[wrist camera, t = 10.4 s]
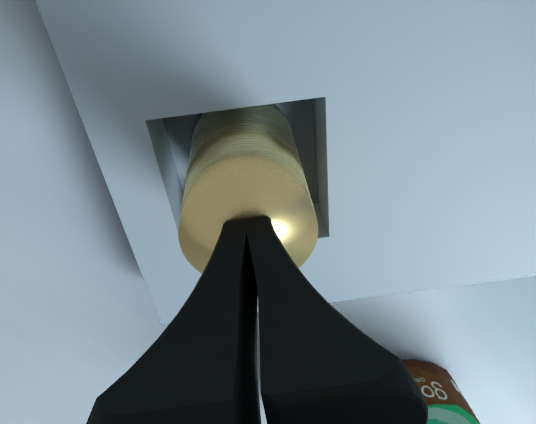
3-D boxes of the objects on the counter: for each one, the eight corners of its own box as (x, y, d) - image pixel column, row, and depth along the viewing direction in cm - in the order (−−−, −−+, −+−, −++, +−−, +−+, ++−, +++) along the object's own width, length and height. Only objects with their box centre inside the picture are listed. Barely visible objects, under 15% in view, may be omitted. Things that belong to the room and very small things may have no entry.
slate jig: (738, -108, 14) (827, -110, 12) (591, 230, 22) (628, 263, 20) (61, -19, 14) (32, -6, 12) (167, 286, 22) (161, 325, 20)
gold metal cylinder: (296, 95, 17) (324, 174, 12) (290, 187, 19) (312, 283, 14) (187, 96, 16) (170, 178, 11) (196, 189, 19) (185, 288, 14)
